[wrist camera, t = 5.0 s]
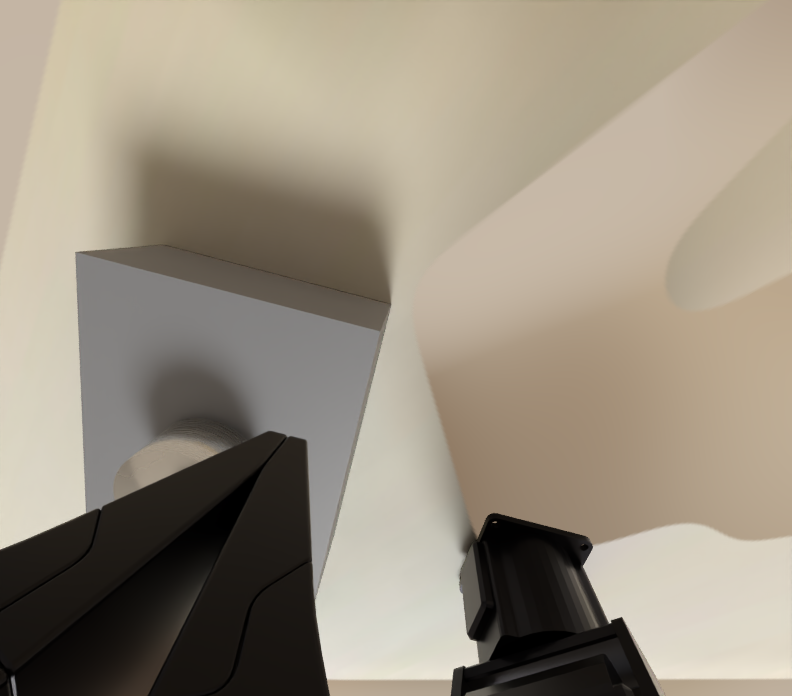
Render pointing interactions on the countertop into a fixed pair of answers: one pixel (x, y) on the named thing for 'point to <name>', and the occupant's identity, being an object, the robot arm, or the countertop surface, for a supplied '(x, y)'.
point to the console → (222, 364)
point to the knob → (174, 453)
